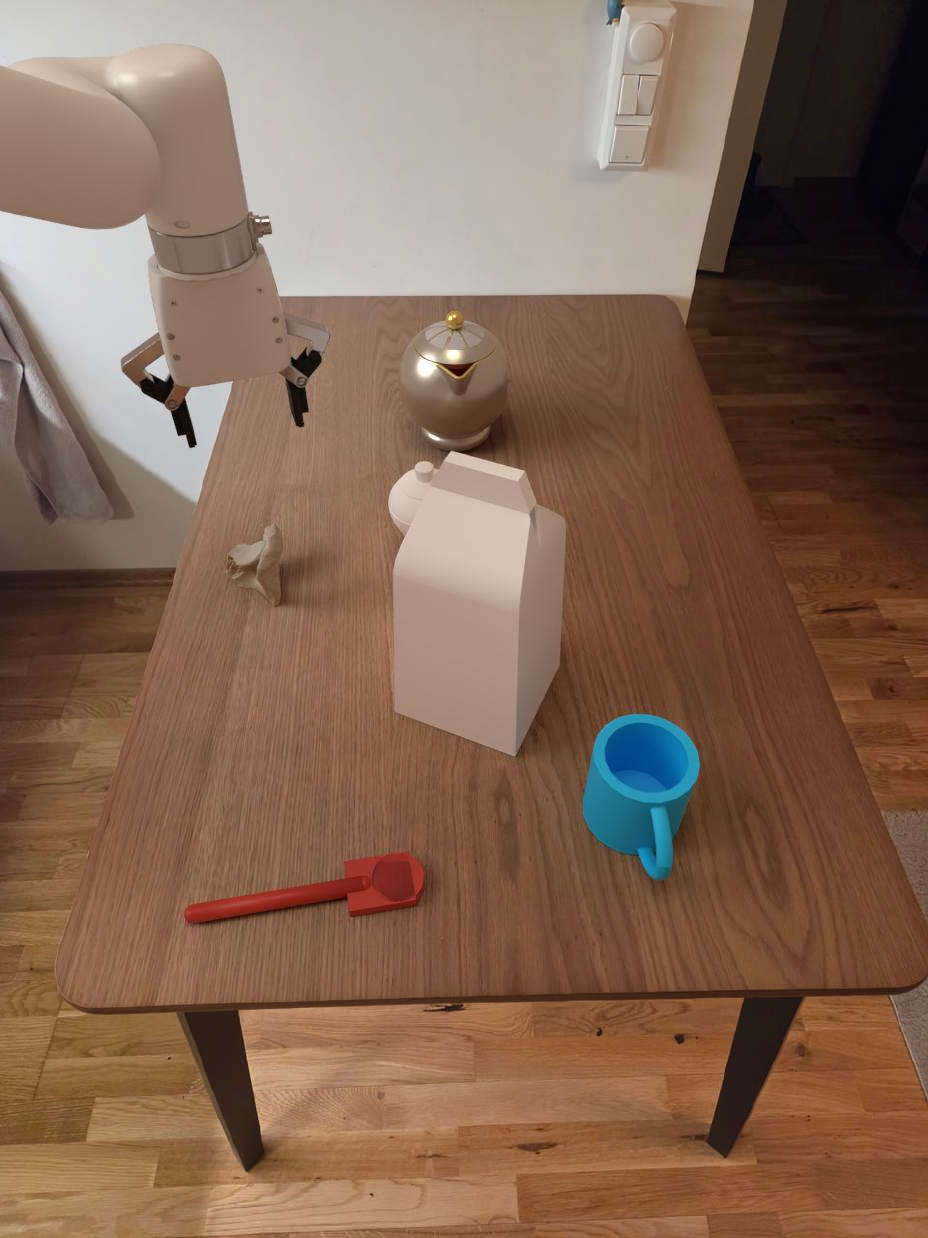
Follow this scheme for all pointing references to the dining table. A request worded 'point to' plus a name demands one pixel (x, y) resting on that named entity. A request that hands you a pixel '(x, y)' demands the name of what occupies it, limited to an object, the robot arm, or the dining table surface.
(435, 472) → the spinning top
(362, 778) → the dining table surface
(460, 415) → the teapot
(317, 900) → the red toy shovel
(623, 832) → the mug
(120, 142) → the robot arm
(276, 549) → the bone
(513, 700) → the milk
